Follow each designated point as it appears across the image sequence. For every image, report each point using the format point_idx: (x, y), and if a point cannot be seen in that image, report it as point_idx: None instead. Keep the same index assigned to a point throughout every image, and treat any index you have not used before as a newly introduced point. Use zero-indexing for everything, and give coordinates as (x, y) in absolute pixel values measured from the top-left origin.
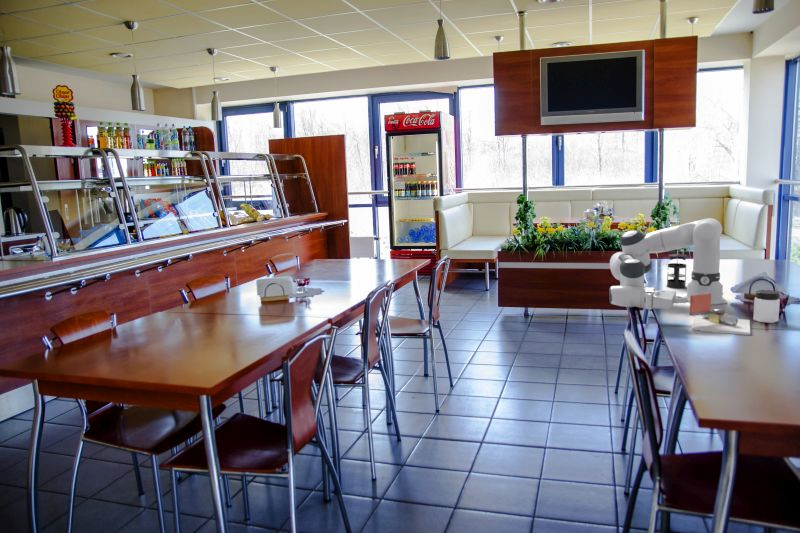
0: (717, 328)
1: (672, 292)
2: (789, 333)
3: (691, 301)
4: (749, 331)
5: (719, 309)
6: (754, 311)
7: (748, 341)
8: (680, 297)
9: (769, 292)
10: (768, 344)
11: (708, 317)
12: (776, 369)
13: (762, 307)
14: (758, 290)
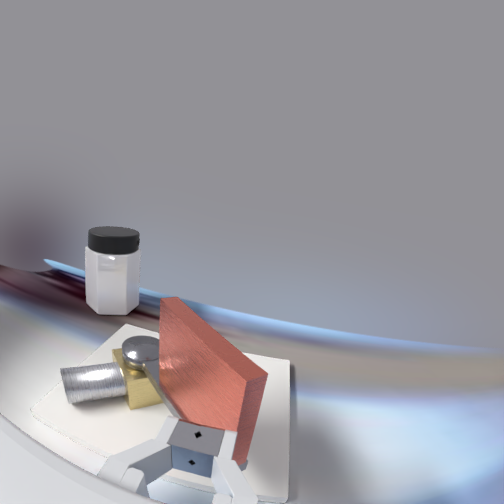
0: (266, 418)
1: (8, 446)
2: (236, 314)
3: (251, 414)
4: (275, 359)
5: (140, 345)
6: (100, 293)
7: (359, 378)
8: (157, 454)
9: (122, 231)
10: (360, 355)
11: (109, 397)
12: (491, 357)
13: (128, 276)
14: (91, 231)
